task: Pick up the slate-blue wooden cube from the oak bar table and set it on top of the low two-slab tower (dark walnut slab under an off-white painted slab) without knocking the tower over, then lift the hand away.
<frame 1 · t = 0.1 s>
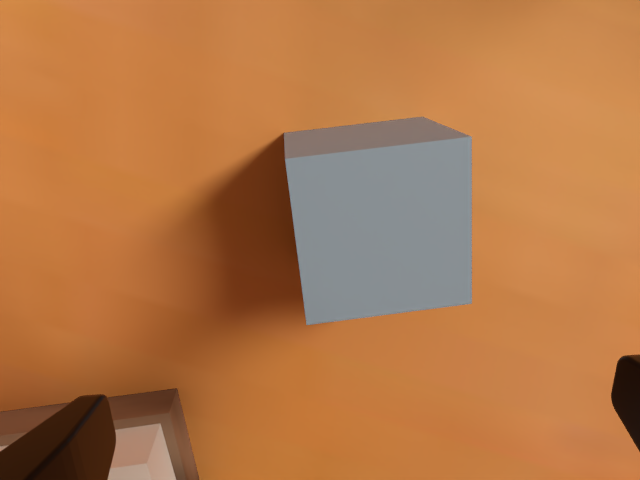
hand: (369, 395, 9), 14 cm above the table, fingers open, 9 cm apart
slate block: (358, 191, 23), on the table
tower bottom: (106, 469, 27), on the table, touching tower top
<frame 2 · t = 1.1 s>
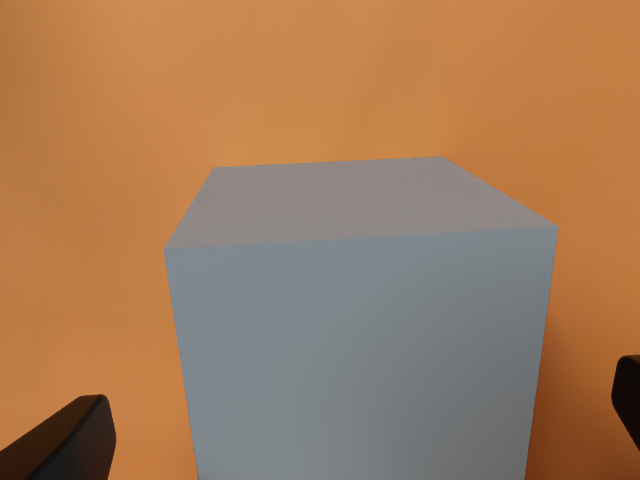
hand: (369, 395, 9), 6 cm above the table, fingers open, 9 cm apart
slate block: (332, 266, 14), on the table
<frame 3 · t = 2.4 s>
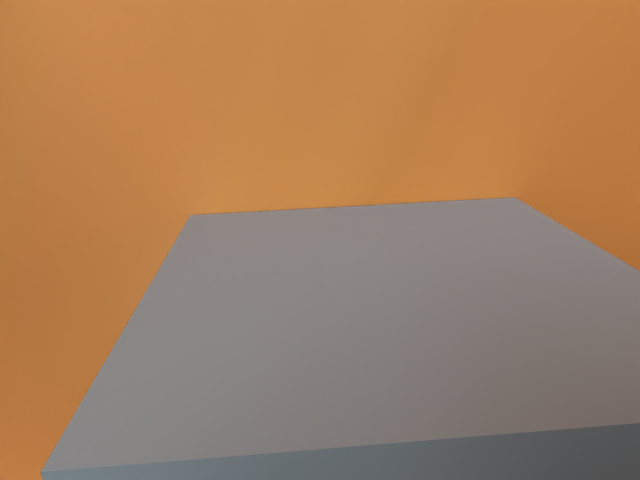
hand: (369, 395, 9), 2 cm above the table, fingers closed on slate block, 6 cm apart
slate block: (357, 347, 10), on the table, touching gripper
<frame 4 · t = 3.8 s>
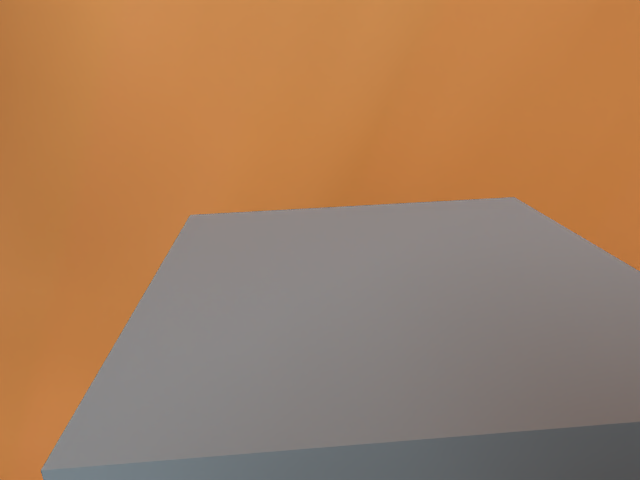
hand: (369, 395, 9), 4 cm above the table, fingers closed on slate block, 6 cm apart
slate block: (356, 347, 10), point 3 cm above the table, touching gripper
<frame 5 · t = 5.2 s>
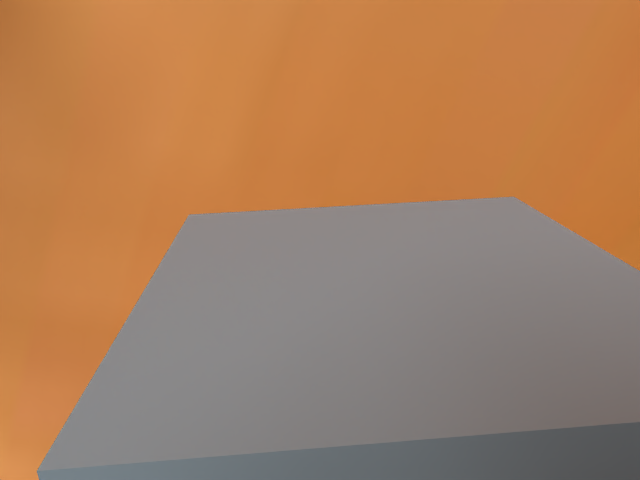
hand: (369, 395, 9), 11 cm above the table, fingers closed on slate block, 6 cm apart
slate block: (356, 347, 10), point 9 cm above the table, touching gripper
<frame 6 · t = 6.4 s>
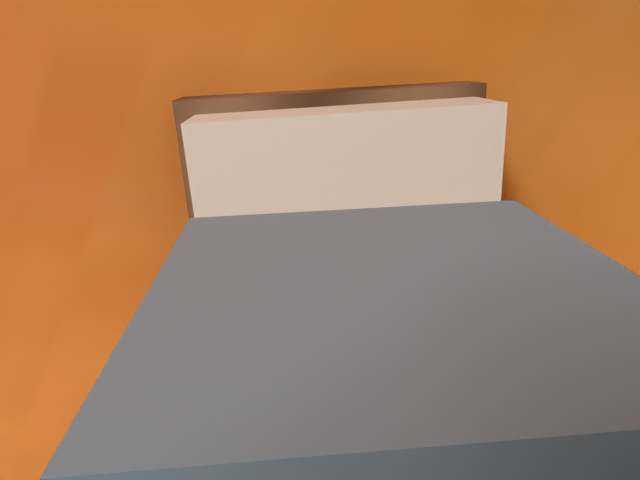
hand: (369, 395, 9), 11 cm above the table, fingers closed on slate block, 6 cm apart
slate block: (356, 349, 10), point 9 cm above the table, touching gripper
tower top: (342, 237, 18), point 2 cm above the table, touching tower bottom
tower bottom: (331, 219, 20), on the table, touching tower top
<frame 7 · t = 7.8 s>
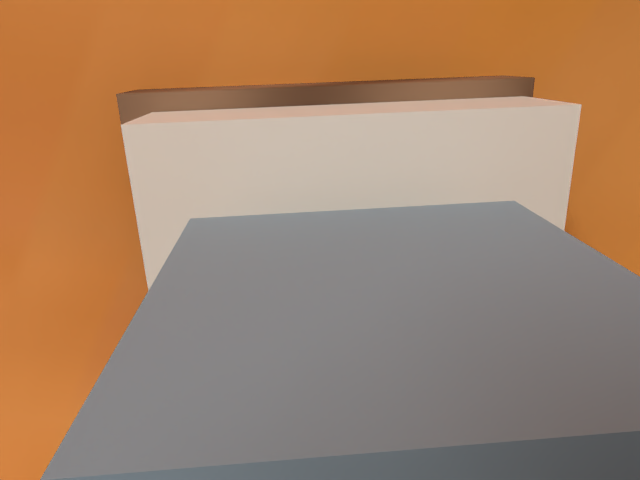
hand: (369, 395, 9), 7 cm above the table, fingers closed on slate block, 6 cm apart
slate block: (356, 350, 10), point 5 cm above the table, touching gripper
tower top: (345, 275, 14), point 2 cm above the table
tower bottom: (327, 246, 16), on the table
when the fingers open (7 cm above the table, at t = 7.9 s): slate block drops 1 cm, resting on tower top.
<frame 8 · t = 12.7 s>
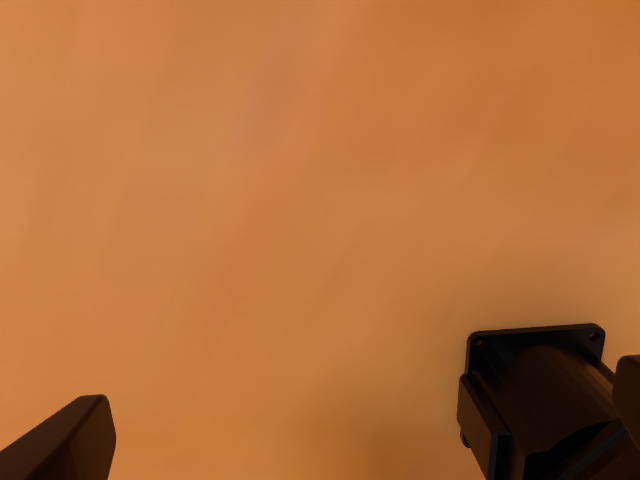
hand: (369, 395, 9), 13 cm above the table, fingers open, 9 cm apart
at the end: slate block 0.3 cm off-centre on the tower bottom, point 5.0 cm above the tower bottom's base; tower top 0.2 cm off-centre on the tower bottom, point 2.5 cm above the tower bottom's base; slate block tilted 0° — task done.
